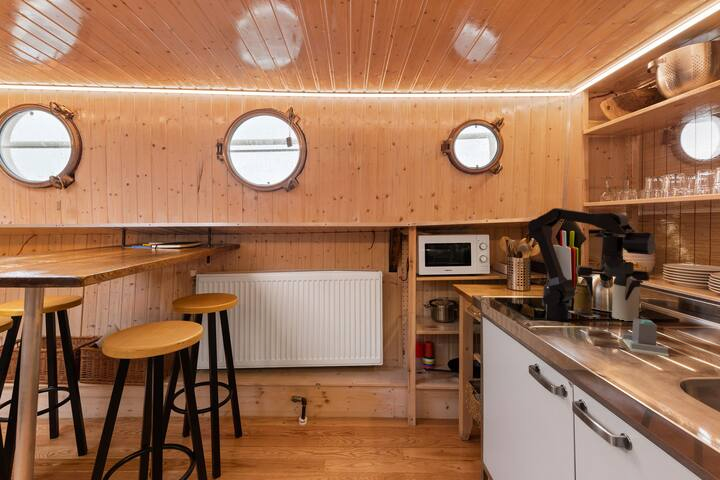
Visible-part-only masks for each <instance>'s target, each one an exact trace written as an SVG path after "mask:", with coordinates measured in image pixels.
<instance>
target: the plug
mask: <svg viewBox="0 0 720 480" xmlns="http://www.w3.org/2000/svg"><path fill="white" fill-rule="evenodd" d="M631 331H632V332H631V334H632V341H633V343H640V344H647V345H654V346H656V343H657V341H656V339H657V337H658V336H657V333H658V325H657V324H655V323H654V322H653V321H652V320H650V319H642V318H638V319H636V318H633V322H632V330H631Z"/></svg>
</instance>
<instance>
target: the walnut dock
mask: <svg viewBox="0 0 720 480" xmlns="http://www.w3.org/2000/svg"><path fill="white" fill-rule="evenodd" d="M586 334H587V337H588V338H589V340H590V342H591V343H592V345H593V346H594V347H599V348H607V349H612V350H620V341H617V340H613V339H612V334H613V333H612V332H611V331H606V330H602V329H601V330H599V329H592V328H587V333H586Z"/></svg>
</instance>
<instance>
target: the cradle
mask: <svg viewBox="0 0 720 480" xmlns="http://www.w3.org/2000/svg"><path fill="white" fill-rule="evenodd" d="M620 338H621V340H622V341H623V342H624V343H625V345H626V346H627V347H628V348H629V350H630V351H631V352H632V353H633V352H634V353H640V354H646V355H653V356H654V355H655V356H661V357H670V354H669V348H668V347H667V346H661V345H659V344H658V343H657V340H658V339H657V338H656V346H654V345H647V344H640V343H633V341H632V333H624V332H622V333H621V337H620Z"/></svg>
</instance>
